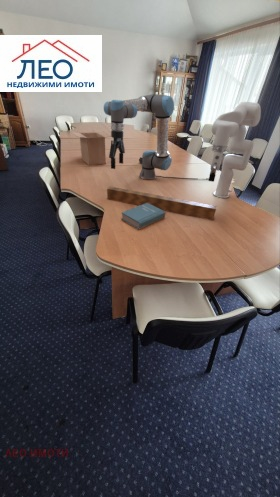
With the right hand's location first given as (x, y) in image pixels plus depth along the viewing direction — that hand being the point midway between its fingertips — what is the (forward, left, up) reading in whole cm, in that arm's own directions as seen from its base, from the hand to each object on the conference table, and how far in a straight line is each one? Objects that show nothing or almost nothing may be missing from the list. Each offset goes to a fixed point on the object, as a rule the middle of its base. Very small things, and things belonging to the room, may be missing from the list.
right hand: (211, 178), depth 133 cm
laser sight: (-30, -116, -26) cm, 122 cm away
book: (+38, -13, -26) cm, 48 cm away
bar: (+20, -23, -26) cm, 40 cm away
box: (+23, -145, -26) cm, 149 cm away
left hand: (+41, -46, -2) cm, 62 cm away
